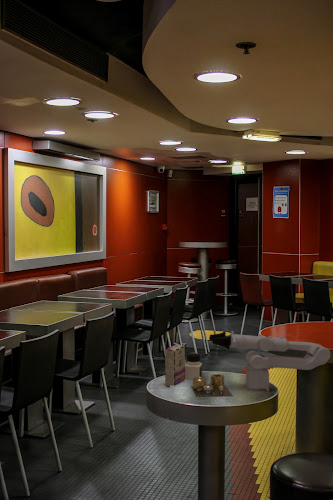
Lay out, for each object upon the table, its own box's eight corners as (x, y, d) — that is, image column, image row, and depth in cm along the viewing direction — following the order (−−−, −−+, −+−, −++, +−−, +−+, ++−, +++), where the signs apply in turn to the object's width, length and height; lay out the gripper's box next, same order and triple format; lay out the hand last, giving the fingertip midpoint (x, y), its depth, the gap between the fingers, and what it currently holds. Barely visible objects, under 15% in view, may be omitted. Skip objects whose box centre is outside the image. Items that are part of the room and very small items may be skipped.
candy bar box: (175, 380, 264) (175, 344, 263) (185, 382, 262) (185, 345, 261) (164, 386, 254) (164, 348, 253) (174, 388, 251) (175, 350, 251)
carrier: (225, 387, 253) (225, 373, 252) (233, 398, 237) (233, 383, 236) (190, 388, 251) (190, 374, 251) (196, 399, 235) (196, 384, 235)
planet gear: (222, 385, 253) (222, 373, 253) (225, 389, 247) (225, 377, 247) (209, 385, 252) (209, 374, 252) (211, 389, 247) (211, 377, 246)
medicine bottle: (199, 382, 261) (200, 355, 261) (184, 381, 263) (184, 354, 262) (202, 378, 268) (202, 352, 268) (186, 377, 270) (186, 351, 269)
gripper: (239, 329, 257) (209, 326, 255) (247, 335, 242) (215, 332, 241) (238, 345, 257) (207, 342, 255) (245, 352, 242) (213, 349, 241)
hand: (211, 339), depth 248 cm, fingers open, 7 cm apart
